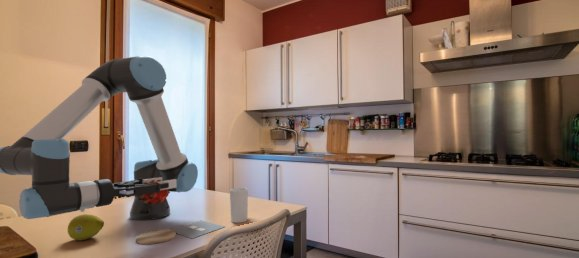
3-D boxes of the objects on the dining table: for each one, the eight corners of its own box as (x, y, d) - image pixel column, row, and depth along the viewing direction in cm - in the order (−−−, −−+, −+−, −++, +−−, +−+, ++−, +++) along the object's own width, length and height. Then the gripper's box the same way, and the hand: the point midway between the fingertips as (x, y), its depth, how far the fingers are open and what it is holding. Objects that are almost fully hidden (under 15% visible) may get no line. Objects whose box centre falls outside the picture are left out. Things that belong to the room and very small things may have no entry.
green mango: (59, 243, 95) (59, 218, 95) (79, 234, 103) (79, 211, 103) (91, 244, 94) (91, 218, 94) (109, 235, 101) (108, 211, 101)
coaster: (128, 239, 97) (128, 237, 97) (162, 229, 107) (162, 227, 107) (147, 247, 90) (147, 245, 90) (182, 235, 100) (182, 233, 100)
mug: (242, 223, 112) (242, 191, 112) (227, 222, 114) (226, 190, 114) (254, 216, 121) (254, 186, 121) (239, 215, 123) (239, 185, 124)
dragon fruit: (136, 213, 93) (164, 209, 104) (155, 198, 91) (182, 195, 102) (126, 189, 95) (155, 188, 106) (145, 174, 94) (172, 174, 105)
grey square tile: (167, 230, 105) (167, 230, 105) (200, 220, 117) (200, 220, 117) (192, 238, 97) (192, 238, 97) (225, 226, 108) (225, 226, 108)
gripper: (79, 202, 90) (152, 190, 109) (111, 212, 78) (186, 196, 96) (79, 177, 90) (152, 169, 109) (110, 183, 78) (186, 173, 97)
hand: (168, 182), depth 103 cm, fingers closed on dragon fruit, 8 cm apart
